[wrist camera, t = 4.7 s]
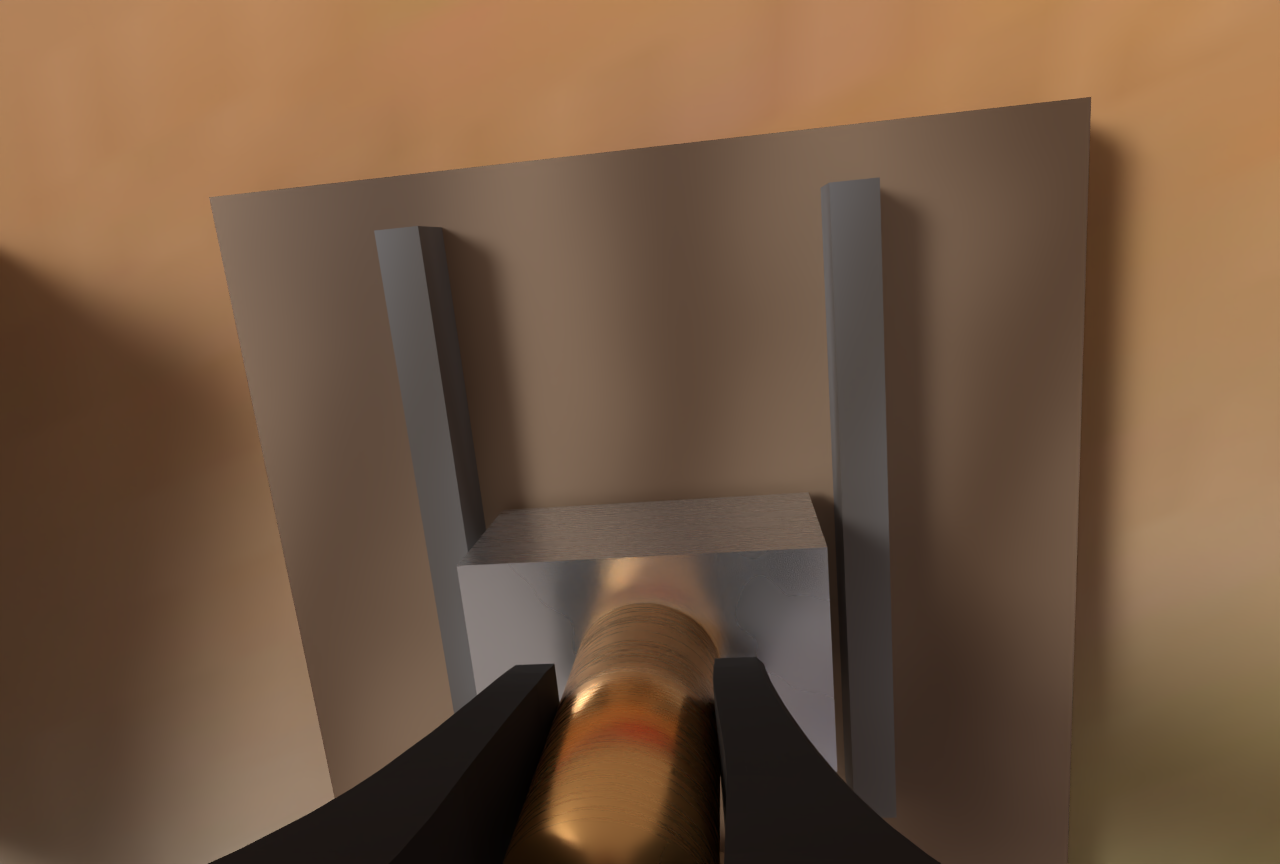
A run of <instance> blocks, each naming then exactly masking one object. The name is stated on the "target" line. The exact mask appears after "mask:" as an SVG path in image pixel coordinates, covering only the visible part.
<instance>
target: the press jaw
mask: <svg viewBox="0 0 1280 864" xmlns="http://www.w3.org/2000/svg"><path fill="white" fill-rule="evenodd" d="M457 571H458V578H459V584H460V591H461V597H462V603H463V610H464V616H465V622H466V629H467V635H468V641H469V648H470V654H471V660H472V667H473V673H474V680H475V686H476V692H477V695H478V694H479V693H480V692H481V691H483V690H484V689H485V688H486V687H488V686H489V685H490V684H491V683H492V682H494V681H495V680H496V679H497V678H499V677H500V676H501V675H502V674H504V673H505V672H506V671H508V670H509V669H511V668H512V667H514V666H515V665H527V664H555V671H556V678H557V686H558V694H559V701H560V703H559V706H558V709H557V712H556V715H555V717H554V720H553V723H552V726H551V729H550V731H549V734H548V737H547V740H546V743H545V746H544V748H543V751H542V754H541V757H540V760H539V762H538V765H537V768H536V771H535V774H534V777H533V779H532V782H531V785H530V788H529V791H528V793H527V796H526V799H525V802H524V805H523V807H522V810H521V813H520V816H519V819H518V822H517V824H516V827H515V830H514V833H513V836H512V838H511V841H510V844H509V847H508V850H507V853H506V855H505V858H504V861H503V864H720V760H719V750H718V739H717V726H716V714H715V702H714V690H713V668H714V661H715V658H737V657H757V658H758V659H759V660H760V661H761V662H763V663H764V665H765V669H766V671H767V673H768V676H769V678H770V680H771V682H772V684H773V686H774V688H775V689H776V691H777V693H778V695H779V696H780V698H781V700H782V701H783V703H784V704H785V706H786V708H787V709H788V711H789V712H790V714H791V715H792V716H793V718H794V719H795V721H796V722H797V724H798V725H799V726H800V728H801V729H802V731H803V732H804V733H805V735H806V736H807V737H808V739H809V740H810V741H811V743H812V744H813V745H814V746H815V748H816V749H817V750H818V752H819V753H820V754H821V755H822V756H823V757H824V759H825V760H826V761H827V762H828V763H829V765H830V766H831V767H832V768H833V769H834V770H835V772H837V753H836V730H835V708H834V686H833V663H832V641H831V619H830V596H829V574H828V552H827V545H826V542H825V539H824V536H823V533H822V530H821V528H820V525H819V522H818V519H817V516H816V513H815V510H814V507H813V504H812V501H811V498H810V496H809V493H808V492H805V493H788V494H771V495H754V496H737V497H720V498H704V499H687V500H670V501H653V502H636V503H619V504H602V505H585V506H568V507H551V508H534V509H517V510H502V512H501V513H500V514H499V515H498V517H497V518H496V519H495V520H494V521H493V523H492V524H491V525H490V526H489V527H488V529H487V530H486V531H485V532H484V533H483V535H482V536H481V537H480V538H479V540H478V541H477V542H476V543H475V544H474V546H473V547H472V548H471V549H470V550H469V552H468V553H467V554H466V555H465V556H464V558H463V559H462V560H461V561H460V563H459V564H458V565H457Z"/></svg>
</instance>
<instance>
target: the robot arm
mask: <svg viewBox="0 0 1280 864" xmlns="http://www.w3.org/2000/svg"><path fill="white" fill-rule="evenodd" d="M713 690H714V702H715V714H716V726H717V739H718V750H719V760H720V776H721V788H722V800H723V812H724V825H725V851H724V864H941V863H940V862H938V861H937V860H935V859H934V858H932V857H931V856H930V855H928V854H927V853H925V852H924V851H923V850H922V849H920V848H919V847H918V846H916V845H915V844H914V843H913V842H911V841H910V840H909V839H907V838H906V837H905V836H903V835H902V834H901V833H900V832H898V831H897V830H896V829H894V828H893V827H892V826H891V825H890V824H888V823H887V822H886V821H885V820H884V819H883V818H882V817H880V816H879V815H878V814H877V813H876V812H875V811H874V810H873V809H872V808H871V807H870V806H869V805H868V804H866V803H865V802H864V801H863V800H862V799H861V798H860V797H859V796H858V795H857V794H856V793H855V792H854V791H853V790H852V789H851V788H850V787H849V786H848V785H847V784H846V782H845V781H844V780H843V779H842V778H841V777H840V776H839V775H838V774H837V773H836V772H835V770H834V769H833V768H832V767H831V766H830V765H829V763H828V762H827V761H826V760H825V759H824V757H823V756H822V755H821V754H820V753H819V752H818V750H817V749H816V748H815V746H814V745H813V744H812V743H811V741H810V740H809V739H808V737H807V736H806V735H805V733H804V732H803V731H802V729H801V728H800V726H799V725H798V724H797V722H796V721H795V719H794V718H793V716H792V715H791V714H790V712H789V711H788V709H787V708H786V706H785V704H784V703H783V701H782V700H781V698H780V696H779V695H778V693H777V691H776V689H775V688H774V686H773V684H772V682H771V680H770V678H769V676H768V673H767V671H766V669H765V665H764V663H763V662H761V661H760V660H759V659H758V658H757V657H737V658H715V661H714V668H713ZM559 703H560V701H559V694H558V686H557V678H556V671H555V664H527V665H515V666H514V667H512V668H511V669H509V670H508V671H506V672H505V673H504V674H502V675H501V676H500V677H499V678H497V679H496V680H495V681H494V682H492V683H491V684H490V685H489V686H488V687H486V688H485V689H484V690H483V691H481V692H480V693H479V694H478V695H477V696H475V697H474V698H473V699H472V700H471V701H469V702H468V703H467V704H466V705H464V706H463V707H462V708H461V709H459V710H458V711H457V712H456V713H455V714H453V715H452V716H451V717H450V718H448V719H447V720H446V721H445V722H443V723H442V724H441V725H440V726H438V727H437V728H436V729H435V730H433V731H432V732H431V733H429V734H428V735H427V736H425V737H424V738H423V739H421V740H420V741H419V742H417V743H416V744H414V745H413V746H412V747H410V748H409V749H408V750H406V751H405V752H404V753H402V754H401V755H400V756H398V757H397V758H395V759H394V760H393V761H391V762H390V763H389V764H387V765H386V766H385V767H383V768H382V769H380V770H379V771H377V772H376V773H374V774H373V775H371V776H370V777H368V778H367V779H365V780H364V781H362V782H361V783H359V784H358V785H356V786H355V787H353V788H351V789H350V790H348V791H346V792H345V793H343V794H342V795H340V796H338V797H337V798H335V799H333V800H332V801H330V802H328V803H327V804H325V805H323V806H322V807H320V808H318V809H316V810H315V811H313V812H311V813H309V814H308V815H306V816H304V817H302V818H300V819H298V820H296V821H294V822H292V823H290V824H288V825H286V826H284V827H282V828H281V829H279V830H277V831H275V832H273V833H271V834H269V835H267V836H265V837H263V838H261V839H259V840H257V841H255V842H253V843H251V844H249V845H247V846H245V847H243V848H242V849H239V850H237V851H235V852H233V853H231V854H229V855H226V856H224V857H222V858H220V859H217V860H215V861H213V862H211V863H208V864H503V861H504V858H505V855H506V853H507V850H508V847H509V844H510V841H511V838H512V836H513V833H514V830H515V827H516V824H517V822H518V819H519V816H520V813H521V810H522V807H523V805H524V802H525V799H526V796H527V793H528V791H529V788H530V785H531V782H532V779H533V777H534V774H535V771H536V768H537V765H538V762H539V760H540V757H541V754H542V751H543V748H544V746H545V743H546V740H547V737H548V734H549V731H550V729H551V726H552V723H553V720H554V717H555V715H556V712H557V709H558V706H559Z"/></svg>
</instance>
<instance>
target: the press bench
mask: <svg viewBox="0 0 1280 864" xmlns="http://www.w3.org/2000/svg"><path fill="white" fill-rule="evenodd" d="M1090 114H1091V97H1087V98H1079V99H1070V100H1061V101H1052V102H1043V103H1035V104H1026V105H1017V106H1008V107H1000V108H991V109H982V110H973V111H964V112H956V113H947V114H938V115H929V116H920V117H912V118H903V119H894V120H885V121H876V122H868V123H859V124H850V125H841V126H833V127H824V128H815V129H806V130H797V131H789V132H780V133H771V134H762V135H753V136H745V137H736V138H727V139H718V140H710V141H701V142H692V143H683V144H674V145H666V146H657V147H648V148H639V149H630V150H622V151H613V152H604V153H595V154H586V155H578V156H569V157H560V158H551V159H543V160H534V161H525V162H516V163H507V164H499V165H490V166H481V167H472V168H463V169H455V170H446V171H437V172H428V173H419V174H411V175H402V176H393V177H384V178H376V179H367V180H358V181H349V182H340V183H332V184H323V185H314V186H305V187H296V188H288V189H279V190H270V191H261V192H253V193H244V194H235V195H226V196H217V197H209V198H210V203H211V208H212V213H213V218H214V222H215V227H216V232H217V237H218V242H219V246H220V251H221V256H222V261H223V265H224V270H225V275H226V280H227V285H228V289H229V294H230V299H231V304H232V309H233V313H234V318H235V323H236V328H237V332H238V337H239V342H240V347H241V352H242V356H243V361H244V366H245V371H246V376H247V380H248V385H249V390H250V395H251V399H252V404H253V409H254V414H255V419H256V423H257V428H258V433H259V438H260V443H261V447H262V452H263V457H264V462H265V467H266V471H267V476H268V481H269V486H270V490H271V495H272V500H273V505H274V510H275V514H276V519H277V524H278V529H279V534H280V538H281V543H282V548H283V553H284V557H285V562H286V567H287V572H288V577H289V581H290V586H291V591H292V596H293V601H294V605H295V610H296V615H297V620H298V624H299V629H300V634H301V639H302V644H303V648H304V653H305V658H306V663H307V668H308V672H309V677H310V682H311V687H312V692H313V696H314V701H315V706H316V711H317V715H318V720H319V725H320V730H321V735H322V739H323V744H324V749H325V754H326V759H327V763H328V768H329V773H330V778H331V782H332V787H333V792H334V797H335V798H337V797H338V796H340V795H342V794H343V793H345V792H346V791H348V790H350V789H351V788H353V787H355V786H356V785H358V784H359V783H361V782H362V781H364V780H365V779H367V778H368V777H370V776H371V775H373V774H374V773H376V772H377V771H379V770H380V769H382V768H383V767H385V766H386V765H387V764H389V763H390V762H391V761H393V760H394V759H395V758H397V757H398V756H400V755H401V754H402V753H404V752H405V751H406V750H408V749H409V748H410V747H412V746H413V745H414V744H416V743H417V742H419V741H420V740H421V739H423V738H424V737H425V736H427V735H428V734H429V733H431V732H432V731H433V730H435V729H436V728H437V727H438V726H440V725H441V724H442V723H443V722H445V721H446V720H447V719H448V718H450V717H451V716H452V715H453V714H455V713H456V712H457V711H458V710H459V709H461V708H462V707H463V706H464V705H466V704H467V703H468V702H469V701H471V700H472V699H473V698H474V697H475V696H477V692H476V686H475V680H474V673H473V667H472V660H471V654H470V648H469V641H468V635H467V629H466V622H465V616H464V610H463V603H462V597H461V591H460V584H459V578H458V571H457V565H458V564H459V563H460V561H461V560H462V559H463V558H464V556H465V555H466V554H467V553H468V552H469V550H470V549H471V548H472V547H473V546H474V544H475V543H476V542H477V541H478V540H479V538H480V537H481V536H482V535H483V533H484V532H485V531H486V530H487V529H488V527H489V526H490V525H491V524H492V523H493V521H494V520H495V519H496V518H497V517H498V515H499V514H500V513H501V512H502V510H517V509H534V508H551V507H568V506H585V505H602V504H619V503H636V502H653V501H670V500H687V499H704V498H720V497H737V496H754V495H771V494H788V493H805V492H808V493H809V496H810V498H811V501H812V504H813V507H814V510H815V513H816V516H817V519H818V522H819V525H820V528H821V530H822V533H823V536H824V539H825V542H826V545H827V552H828V574H829V596H830V619H831V641H832V663H833V686H834V708H835V730H836V753H837V772H836V773H837V774H838V775H839V776H840V777H841V778H842V779H843V780H844V781H845V782H846V784H847V785H848V786H849V787H850V788H851V789H852V790H853V791H854V792H855V793H856V794H857V795H858V796H859V797H860V798H861V799H862V800H863V801H864V802H865V803H866V804H868V805H869V806H870V807H871V808H872V809H873V810H874V811H875V812H876V813H877V814H878V815H879V816H880V817H882V818H883V819H884V820H885V821H886V822H887V823H888V824H890V825H891V826H892V827H893V828H894V829H896V830H897V831H898V832H900V833H901V834H902V835H903V836H905V837H906V838H907V839H909V840H910V841H911V842H913V843H914V844H915V845H916V846H918V847H919V848H920V849H922V850H923V851H924V852H925V853H927V854H928V855H930V856H931V857H932V858H934V859H935V860H937V861H938V862H940V863H941V864H1068V834H1069V802H1070V769H1071V736H1072V703H1073V671H1074V638H1075V605H1076V572H1077V540H1078V507H1079V474H1080V441H1081V409H1082V376H1083V343H1084V311H1085V278H1086V245H1087V212H1088V180H1089V147H1090ZM720 851H721V852H723V853H724V851H725V825H724V812H723V800H722V788H721V776H720Z"/></svg>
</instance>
